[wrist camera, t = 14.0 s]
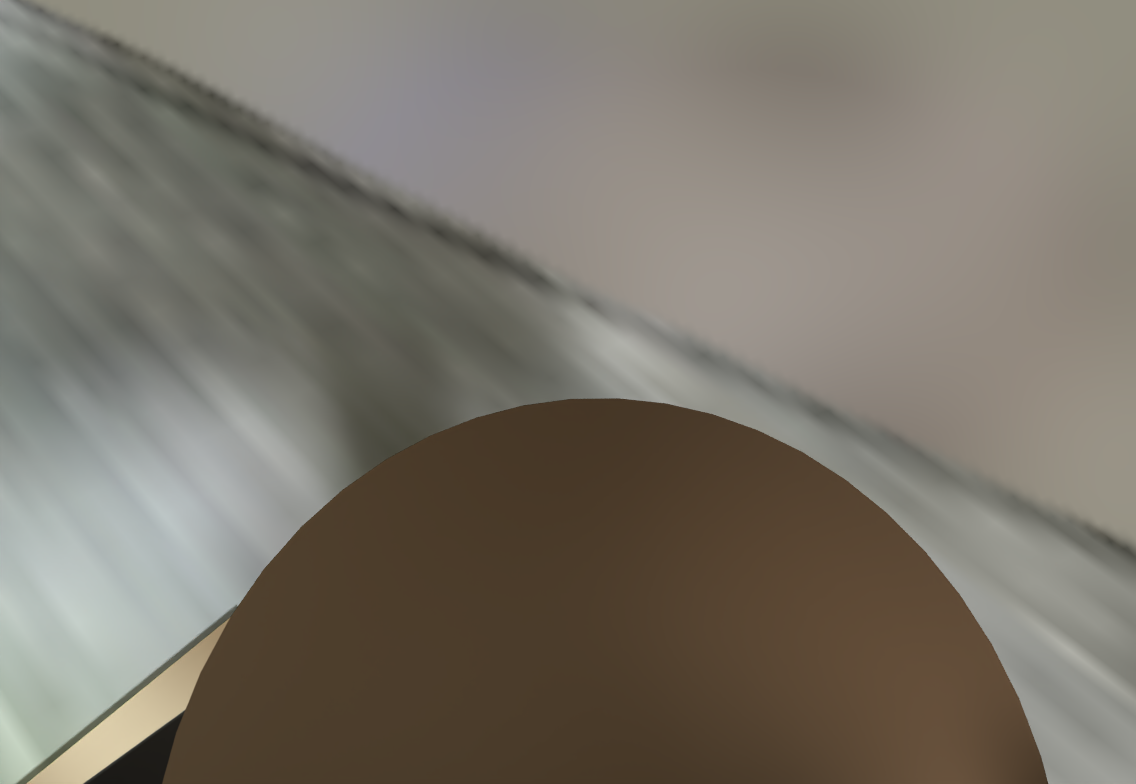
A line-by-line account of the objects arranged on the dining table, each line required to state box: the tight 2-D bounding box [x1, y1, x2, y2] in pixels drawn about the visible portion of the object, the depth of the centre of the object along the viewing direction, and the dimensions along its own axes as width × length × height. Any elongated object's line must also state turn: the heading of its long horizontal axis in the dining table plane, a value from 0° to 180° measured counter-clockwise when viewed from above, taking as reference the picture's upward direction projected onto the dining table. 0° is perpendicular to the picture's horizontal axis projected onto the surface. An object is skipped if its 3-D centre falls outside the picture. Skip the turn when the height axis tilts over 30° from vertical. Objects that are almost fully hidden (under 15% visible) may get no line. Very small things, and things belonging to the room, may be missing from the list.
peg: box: [162, 399, 1048, 784], centre depth 8 cm, size 3×3×12 cm
